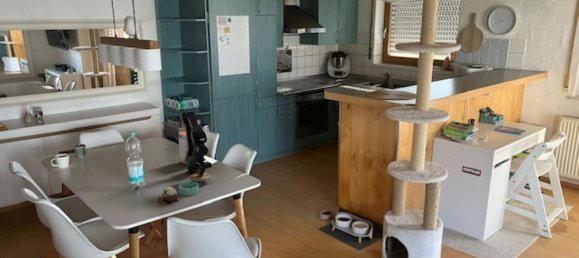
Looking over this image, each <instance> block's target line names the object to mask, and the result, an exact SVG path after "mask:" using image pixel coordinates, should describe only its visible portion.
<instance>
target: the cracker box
mask: <svg viewBox="0 0 579 258" xmlns="http://www.w3.org/2000/svg"><path fill="white" fill-rule="evenodd" d="M178 146H179V147H178V148H179V161H180V163H182V164H184V165H186V164H185V162H184V159H185V156H186V152H187V149H188V148H187V139H186V131H180V132H178Z"/></svg>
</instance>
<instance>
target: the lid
mask: <svg viewBox="0 0 579 258" xmlns="http://www.w3.org/2000/svg"><path fill="white" fill-rule="evenodd" d="M197 171H198V174H197V173H195V174H192V175H189V179H190V181H191V180H192V181H205V180H208V179H209V180H211V175H210V174H209V173H208V172H204V174H203V176H202V177H201V176H200V170H199V169H198V170H197Z"/></svg>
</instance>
